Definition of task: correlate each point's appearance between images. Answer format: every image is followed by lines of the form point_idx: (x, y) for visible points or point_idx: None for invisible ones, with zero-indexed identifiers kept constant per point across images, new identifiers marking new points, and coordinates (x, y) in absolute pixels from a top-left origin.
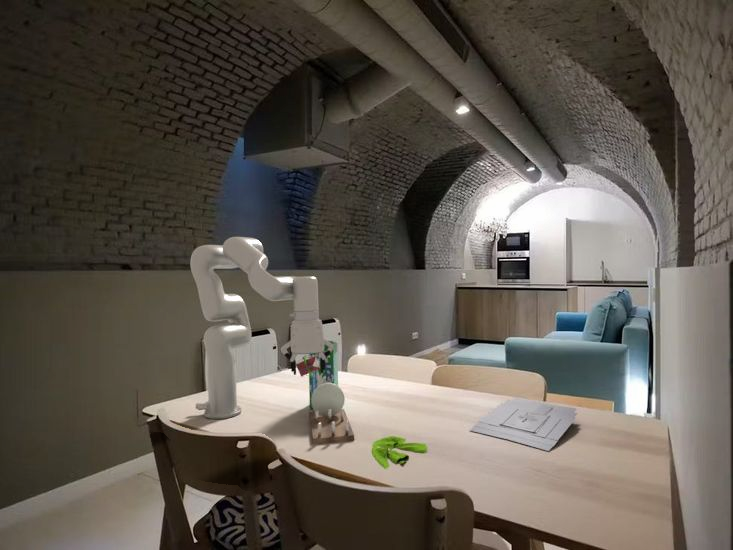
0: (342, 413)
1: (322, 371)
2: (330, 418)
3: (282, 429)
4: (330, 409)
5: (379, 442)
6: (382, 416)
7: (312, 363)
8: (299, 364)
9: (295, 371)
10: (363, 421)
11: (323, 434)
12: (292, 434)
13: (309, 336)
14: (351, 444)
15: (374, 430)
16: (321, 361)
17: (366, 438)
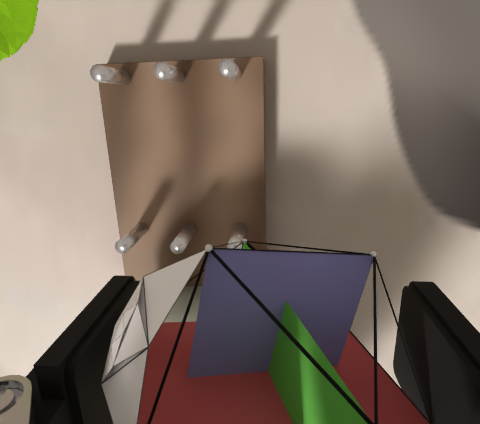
0: (127, 233)
1: (119, 279)
2: (183, 228)
3: (375, 237)
4: (173, 249)
5: (12, 22)
6: (7, 281)
7: (208, 384)
8: (382, 416)
9: (423, 301)
10: (72, 249)
11: (218, 96)
12: (339, 177)
13: None
14: (116, 24)
15: (32, 152)
16: (67, 354)
17: (60, 76)
